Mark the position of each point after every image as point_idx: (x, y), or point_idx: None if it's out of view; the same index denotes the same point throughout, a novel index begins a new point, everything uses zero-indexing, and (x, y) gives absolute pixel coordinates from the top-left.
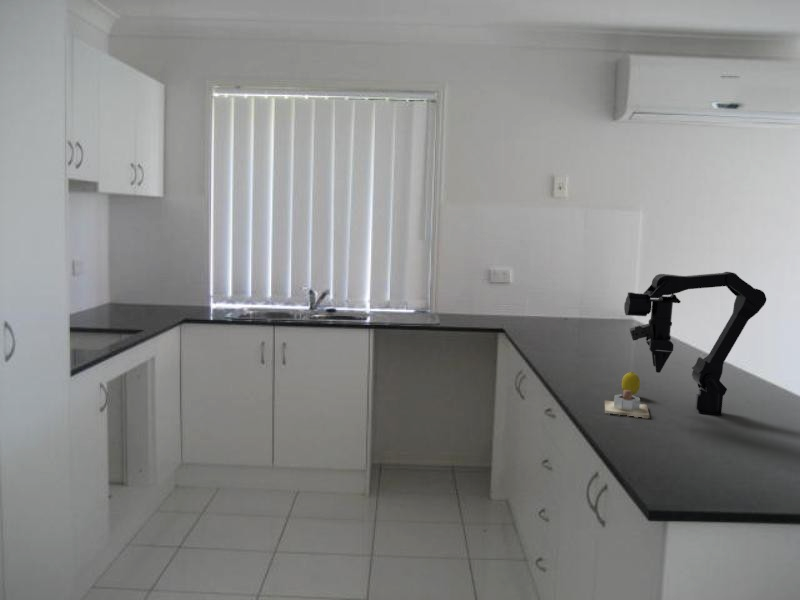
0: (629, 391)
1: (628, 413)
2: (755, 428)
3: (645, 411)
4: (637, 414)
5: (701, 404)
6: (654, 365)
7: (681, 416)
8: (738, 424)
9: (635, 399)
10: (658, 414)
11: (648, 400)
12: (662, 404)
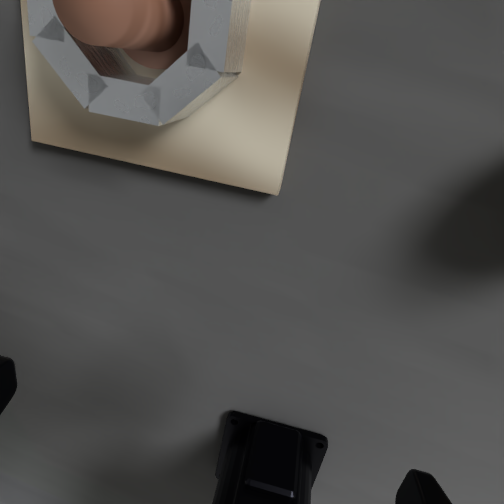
0: (74, 12)
1: (23, 1)
2: (89, 489)
3: (106, 139)
4: (28, 66)
5: (244, 454)
6: (408, 483)
7: (157, 318)
8: (117, 466)
9: (87, 74)
10: (156, 218)
11: (482, 264)
12: (384, 313)
